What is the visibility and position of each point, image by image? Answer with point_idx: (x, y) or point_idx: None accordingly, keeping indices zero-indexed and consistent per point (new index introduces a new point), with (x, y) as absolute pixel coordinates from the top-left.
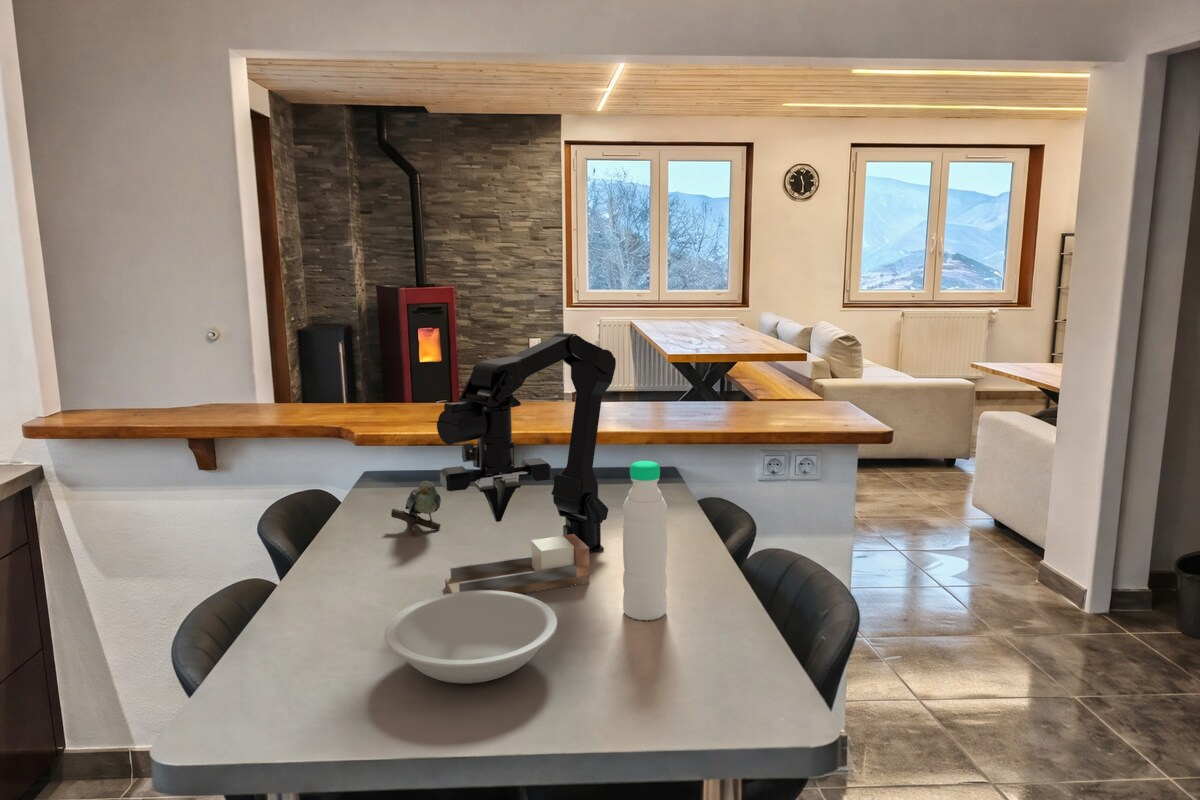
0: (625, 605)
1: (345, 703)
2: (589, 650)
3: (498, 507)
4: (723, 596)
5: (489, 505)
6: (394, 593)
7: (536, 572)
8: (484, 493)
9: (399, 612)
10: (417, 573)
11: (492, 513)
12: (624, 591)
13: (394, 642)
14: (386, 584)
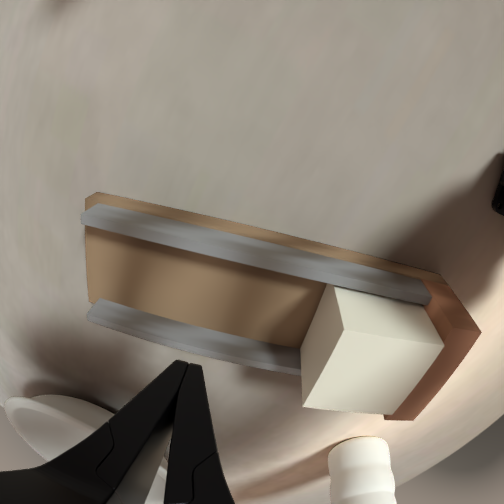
0: (330, 462)
1: (10, 389)
2: (234, 466)
3: (157, 467)
4: (454, 440)
5: (120, 413)
6: (12, 167)
7: (278, 371)
8: (56, 466)
9: (7, 401)
10: (69, 66)
11: (152, 383)
12: (336, 473)
13: (20, 434)
14: (9, 110)
